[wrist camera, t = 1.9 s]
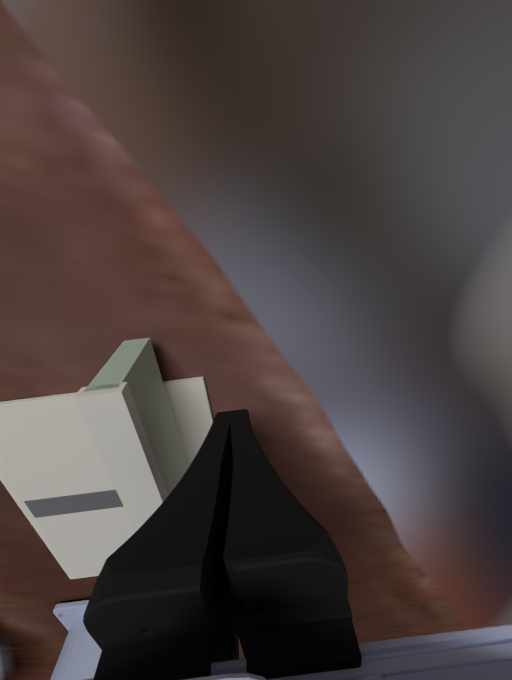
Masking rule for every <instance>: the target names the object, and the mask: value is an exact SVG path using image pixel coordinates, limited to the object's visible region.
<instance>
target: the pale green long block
mask: <svg viewBox="0 0 512 680" xmlns="http://www.w3.org/2000/svg"><path fill="white" fill-rule="evenodd" d="M73 399H74V401H75V403H76V405H77V408H78V410H79V412H80V414H81V416H82V418H83V420H84V423H85V425H86V427H87V429H88V431H89V433H90V435H91V438H92V440H93V442H94V444H95V446H96V448H97V450H98V452H99V455H100V457H101V459H102V461H103V463H104V465H105V467H106V470H107V472H108V474H109V476H110V478H111V480H112V482H113V485H114V487H115V489H116V491H117V493H118V495H119V497H120V500H121V502H122V504H123V506H124V508H125V510H126V512H127V515H128V517H129V519H130V521H131V523H132V525H133V527H134V530H135V532H136V531H137V530H138V529H139V528H140V527H141V526H142V525H143V524H144V523H145V522H146V521H147V519H148V518H149V517H150V516H151V515H152V514H153V513H154V512H155V511H156V510H157V509H158V507H159V506H160V505H161V504H162V503H163V502H164V500H165V499H166V498H167V497H168V495H169V494H170V493H171V491H172V490H173V489H174V488H175V486H176V485H177V484H178V482H179V481H180V479H181V478H182V477H183V475H184V474H185V472H186V471H187V469H188V465H187V462H186V458H185V455H184V452H183V448H182V445H181V441H180V438H179V435H178V431H177V428H176V425H175V421H174V418H173V414H172V411H171V408H170V404H169V401H168V397H167V394H166V391H165V387H164V384H163V380H162V377H161V374H160V370H159V367H158V363H157V360H156V357H155V353H154V350H153V347H152V343H151V340H150V338H143V339H135V340H127V341H124V342H123V343H122V344H121V345H120V347H119V348H118V349H117V350H116V352H115V353H114V354H113V355H112V357H111V358H110V359H109V360H108V362H107V363H106V364H105V365H104V367H103V368H102V369H101V370H100V372H99V373H98V374H97V375H96V377H95V378H94V379H93V380H92V382H91V383H90V384H89V385H88V387H82V388H81V389H80V390H79V391H78V393H77V394H76V395H75V396H74V397H73Z"/></svg>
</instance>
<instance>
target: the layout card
mask: <svg viewBox="0 0 512 680" xmlns="http://www.w3.org/2000/svg"><path fill="white" fill-rule="evenodd" d="M163 384H164V387H165V391H166V394H167V397H168V401H169V404H170V408H171V411H172V414H173V418H174V421H175V425H176V428H177V431H178V435H179V438H180V441H181V445H182V448H183V452H184V455H185V458H186V462H187V465H188V468H189V466H190V464H191V463H192V461H193V459H194V458H195V456H196V454H197V453H198V451H199V449H200V447H201V445H202V444H203V442H204V440H205V438H206V436H207V434H208V432H209V430H210V427H211V425H212V423H213V418H212V413H211V409H210V404H209V400H208V395H207V391H206V386H205V382H204V377H195V378H187V379H179V380H171V381H163ZM77 393H78V392H76V393H68V394H60V395H52V396H44V397H36V398H28V399H20V400H12V401H4V402H0V480H1V482H2V483H3V485H4V486H5V487H6V489H7V490H8V492H9V493H10V495H11V496H12V497H13V499H14V500H15V502H16V503H17V505H18V506H19V507H20V509H21V510H22V512H23V513H24V514H25V516H26V517H27V519H28V520H29V522H30V523H31V524H32V526H33V527H34V529H35V530H36V531H37V533H38V534H39V536H40V537H41V539H42V540H43V541H44V543H45V544H46V546H47V547H48V548H49V550H50V551H51V553H52V554H53V556H54V557H55V558H56V560H57V561H58V563H59V564H60V565H61V567H62V568H63V570H64V571H65V573H66V574H67V575H68V577H69V578H70V579H77V578H84V577H92V576H99V574H100V572H101V570H102V568H103V566H104V563H105V561H106V559H107V558H108V557H109V556H110V555H111V554H113V553H114V552H115V551H116V550H117V549H118V548H119V547H120V546H121V545H122V544H123V543H125V542H126V541H127V540H128V539H129V538H130V537H131V536H132V535H133V534H134V533H135V530H134V527H133V525H132V523H131V521H130V519H129V517H128V515H127V512H126V510H125V508H124V506H123V504H122V502H121V500H120V497H119V495H118V493H117V491H116V489H115V487H114V485H113V482H112V480H111V478H110V476H109V474H108V472H107V470H106V467H105V465H104V463H103V461H102V459H101V457H100V455H99V452H98V450H97V448H96V446H95V444H94V442H93V440H92V438H91V435H90V433H89V431H88V429H87V427H86V425H85V423H84V420H83V418H82V416H81V414H80V412H79V410H78V408H77V405H76V403H75V401H74V399H73V397H74V396H75V395H76V394H77Z"/></svg>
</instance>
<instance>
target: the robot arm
mask: <svg viewBox="0 0 512 680" xmlns="http://www.w3.org/2000/svg"><path fill="white" fill-rule="evenodd" d="M347 597H348V574H347V570H346V568H345V565H344V563H343V560H342V558H341V556H340V554H339V552H338V550H337V548H336V546H335V545H334V543H333V541H332V539H331V538H330V536H329V534H328V532H327V531H326V530H325V529H324V528H323V527H322V526H321V525H320V524H319V523H318V522H317V521H316V520H315V519H314V518H313V517H312V516H311V515H310V514H309V513H308V512H307V510H306V509H305V508H304V507H303V506H302V505H301V504H300V503H299V502H298V500H297V499H296V498H295V497H294V496H293V494H292V493H291V492H290V491H289V489H288V488H287V487H286V486H285V485H284V483H283V482H282V480H281V479H280V478H279V476H278V475H277V473H276V472H275V470H274V469H273V467H272V466H271V464H270V463H269V461H268V459H267V458H266V456H265V454H264V452H263V450H262V448H261V447H260V445H259V442H258V440H257V438H256V436H255V434H254V431H253V429H252V426H251V423H250V419H249V413H248V411H247V410H246V409H243V410H235V411H227V412H219V413H217V414H216V415H215V418H214V421H213V423H212V425H211V427H210V430H209V432H208V434H207V436H206V438H205V440H204V442H203V444H202V445H201V447H200V449H199V451H198V453H197V454H196V456H195V458H194V459H193V461H192V463H191V464H190V466H189V468H188V469H187V471H186V472H185V474H184V475H183V477H182V478H181V479H180V481H179V482H178V484H177V485H176V486H175V488H174V489H173V490H172V491H171V493H170V494H169V495H168V497H167V498H166V499H165V500H164V502H163V503H162V504H161V505H160V506H159V507H158V509H157V510H156V511H155V512H154V513H153V514H152V515H151V516H150V517H149V518H148V519H147V521H146V522H145V523H144V524H143V525H142V526H141V527H140V528H139V529H138V530H137V531H136V532H135V533H134V534H133V535H132V536H131V537H130V538H129V539H128V540H127V541H126V542H125V543H123V544H122V545H121V546H120V547H119V548H118V549H117V550H116V551H115V552H114V553H113V554H111V555H110V556H109V557H108V558H107V559H106V561H105V563H104V566H103V568H102V570H101V572H100V574H99V576H98V578H97V581H96V583H95V585H94V588H93V591H92V594H91V596H90V599H89V600H82V601H75V602H67V603H60V604H57V605H55V608H54V610H53V613H54V614H55V616H56V617H57V618H58V619H59V620H60V622H61V623H62V624H63V625H64V626H65V628H66V629H67V630H68V631H69V633H68V635H67V638H66V640H65V643H64V645H63V648H62V651H61V653H60V656H59V658H58V661H57V664H56V666H55V669H54V671H53V674H52V676H51V679H50V680H512V624H509V625H501V626H494V627H485V628H477V629H470V630H462V631H454V632H446V633H438V634H431V635H423V636H415V637H407V638H400V639H392V640H384V641H376V642H369V643H361V644H358V641H357V637H356V633H355V630H354V626H353V622H352V612H351V609H350V605H349V602H348V598H347ZM238 636H239V640H240V643H241V646H242V650H243V653H244V657H245V658H244V659H239V642H238Z"/></svg>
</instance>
